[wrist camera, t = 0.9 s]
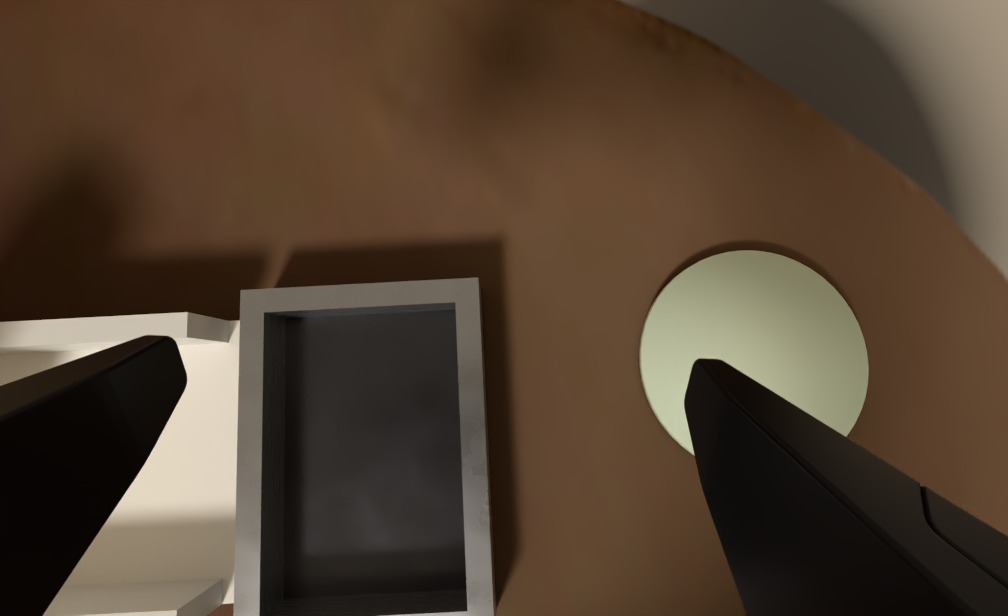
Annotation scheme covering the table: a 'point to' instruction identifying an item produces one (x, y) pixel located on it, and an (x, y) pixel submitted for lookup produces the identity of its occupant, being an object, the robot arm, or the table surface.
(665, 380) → the pad
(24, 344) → the cream rectangular tray
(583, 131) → the table surface
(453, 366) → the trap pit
